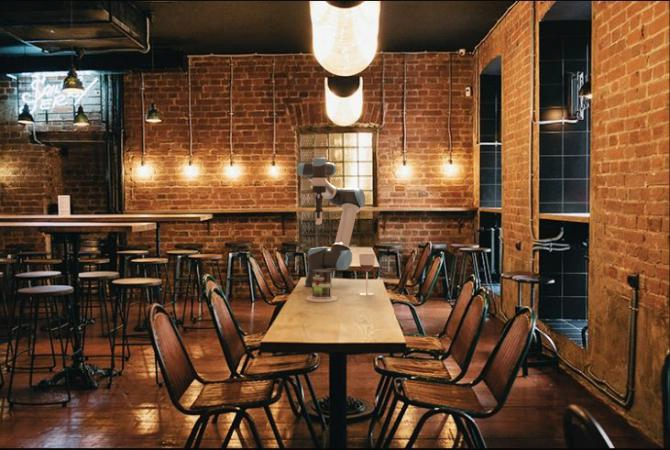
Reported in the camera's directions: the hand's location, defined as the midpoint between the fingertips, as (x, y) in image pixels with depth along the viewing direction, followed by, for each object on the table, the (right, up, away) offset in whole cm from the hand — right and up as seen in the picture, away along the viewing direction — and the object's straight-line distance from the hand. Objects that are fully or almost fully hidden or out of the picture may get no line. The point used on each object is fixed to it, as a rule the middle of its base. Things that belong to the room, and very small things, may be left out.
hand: (318, 223), depth 333 cm
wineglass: (+27, -39, -1) cm, 47 cm away
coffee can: (+2, -39, -20) cm, 44 cm away
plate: (+2, -40, -20) cm, 45 cm away
